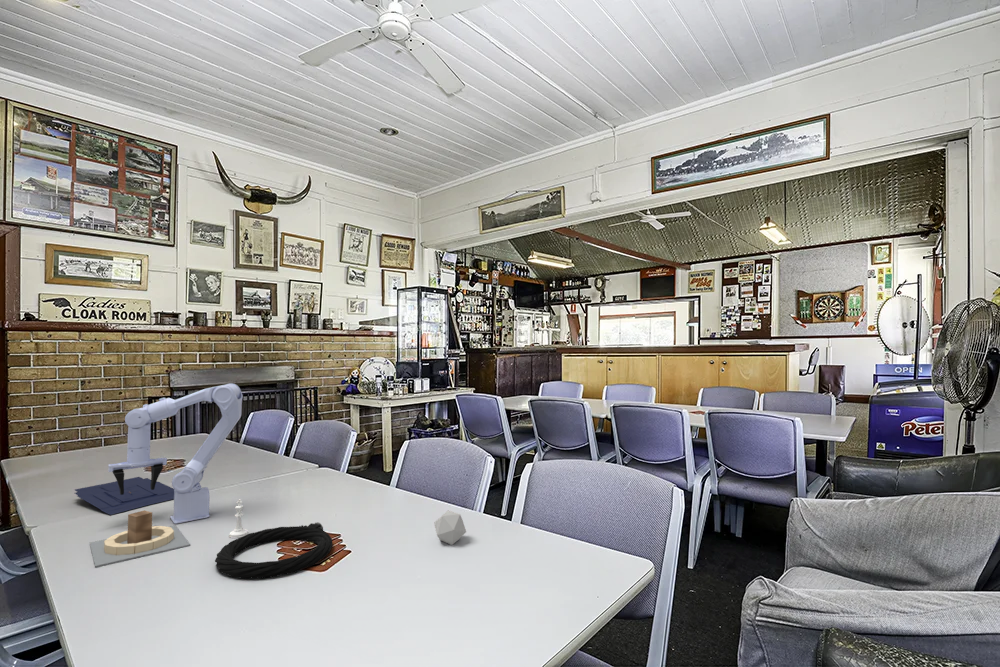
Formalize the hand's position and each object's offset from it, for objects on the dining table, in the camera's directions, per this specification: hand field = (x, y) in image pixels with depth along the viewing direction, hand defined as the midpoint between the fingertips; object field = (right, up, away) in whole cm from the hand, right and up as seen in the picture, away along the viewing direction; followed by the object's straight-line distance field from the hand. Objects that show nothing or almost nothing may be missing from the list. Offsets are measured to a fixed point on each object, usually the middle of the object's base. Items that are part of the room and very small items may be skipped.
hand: (137, 491), depth 152 cm
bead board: (+14, -9, -18) cm, 24 cm away
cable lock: (+55, -9, -24) cm, 60 cm away
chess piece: (+37, -9, -10) cm, 39 cm away
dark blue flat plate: (-20, -11, +23) cm, 33 cm away
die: (+98, -9, -15) cm, 100 cm away
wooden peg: (+14, -8, -18) cm, 24 cm away
